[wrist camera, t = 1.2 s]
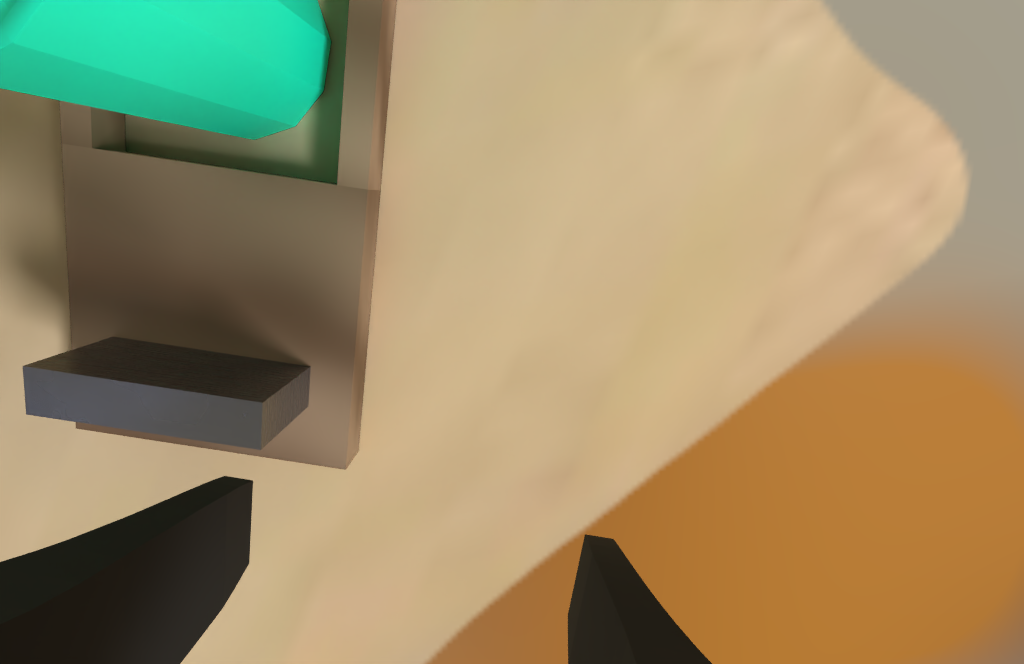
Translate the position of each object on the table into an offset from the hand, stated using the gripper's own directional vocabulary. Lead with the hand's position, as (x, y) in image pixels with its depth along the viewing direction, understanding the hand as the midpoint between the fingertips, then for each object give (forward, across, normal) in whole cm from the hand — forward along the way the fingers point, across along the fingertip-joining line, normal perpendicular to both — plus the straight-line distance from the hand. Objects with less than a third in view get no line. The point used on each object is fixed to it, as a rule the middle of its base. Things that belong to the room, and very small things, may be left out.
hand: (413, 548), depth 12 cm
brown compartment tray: (+9, +9, -7) cm, 15 cm away
